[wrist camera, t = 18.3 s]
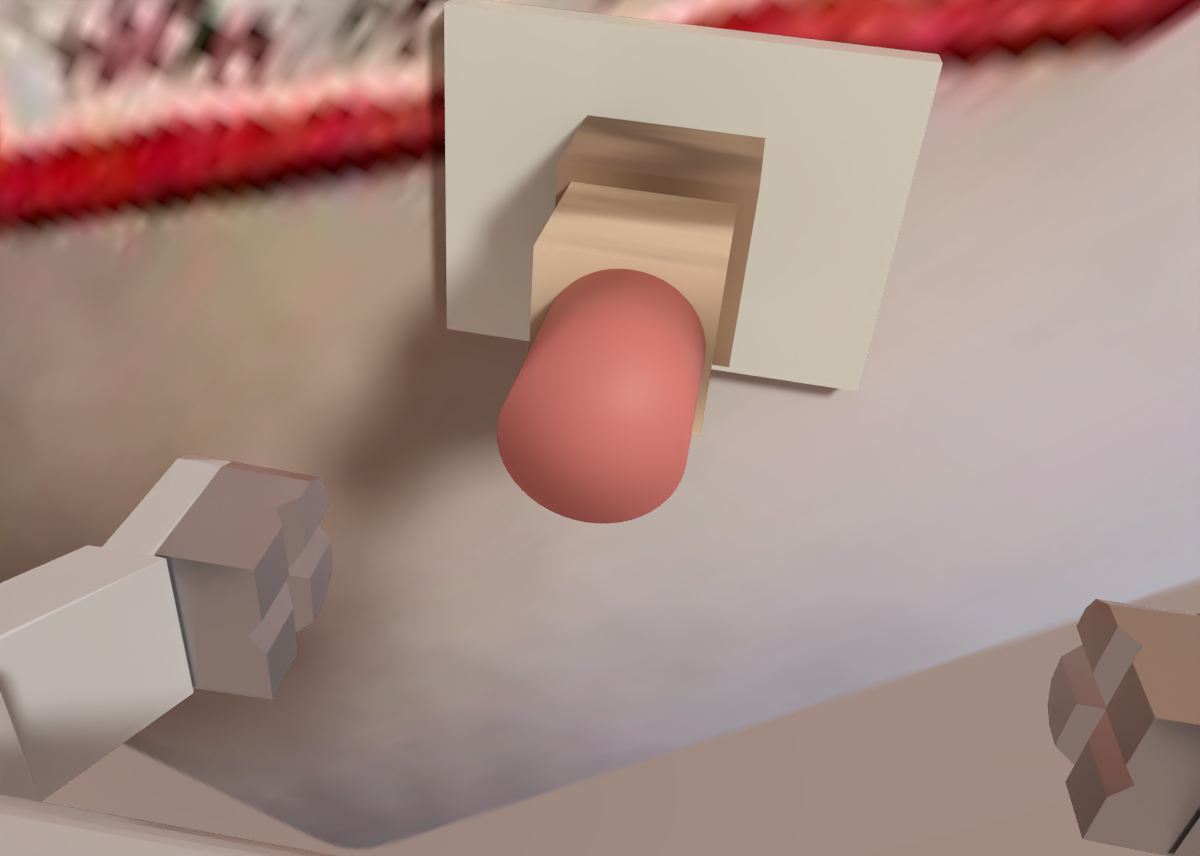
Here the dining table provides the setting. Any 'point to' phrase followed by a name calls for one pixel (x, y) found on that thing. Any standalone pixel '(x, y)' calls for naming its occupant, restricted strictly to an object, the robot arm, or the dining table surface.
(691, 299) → the beech cube
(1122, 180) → the dining table surface
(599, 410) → the red capsule
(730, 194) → the walnut base
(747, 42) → the board
